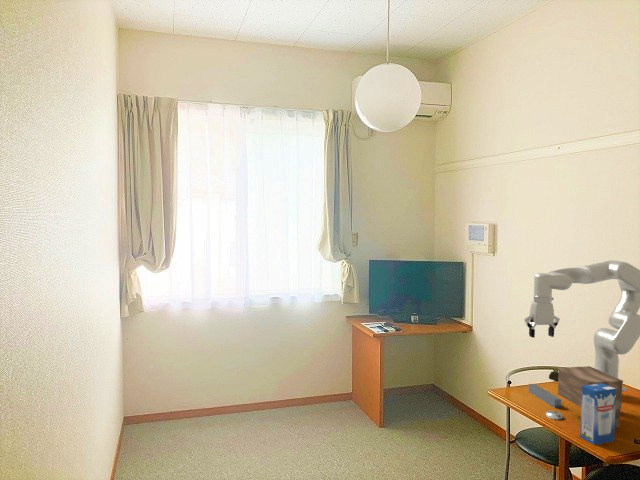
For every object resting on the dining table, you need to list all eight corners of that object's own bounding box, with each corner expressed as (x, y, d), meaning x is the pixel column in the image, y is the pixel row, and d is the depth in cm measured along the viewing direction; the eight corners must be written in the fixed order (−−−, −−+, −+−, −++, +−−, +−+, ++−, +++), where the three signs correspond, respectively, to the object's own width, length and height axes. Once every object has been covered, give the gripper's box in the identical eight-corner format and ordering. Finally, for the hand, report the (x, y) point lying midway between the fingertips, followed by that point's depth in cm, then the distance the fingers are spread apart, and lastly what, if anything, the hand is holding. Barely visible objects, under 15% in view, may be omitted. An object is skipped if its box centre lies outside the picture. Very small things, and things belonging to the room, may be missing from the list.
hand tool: (591, 385, 241) (591, 375, 241) (590, 387, 238) (591, 378, 238) (549, 378, 251) (549, 369, 251) (548, 380, 248) (549, 371, 248)
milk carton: (600, 433, 186) (601, 383, 185) (614, 441, 180) (616, 388, 179) (580, 437, 183) (581, 385, 182) (594, 444, 177) (595, 391, 176)
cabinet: (588, 409, 210) (589, 366, 209) (621, 427, 192) (622, 380, 191) (556, 411, 207) (558, 367, 207) (587, 429, 189) (589, 382, 188)
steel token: (554, 413, 205) (554, 410, 205) (565, 419, 200) (565, 415, 199) (542, 415, 204) (543, 411, 204) (553, 421, 198) (553, 417, 198)
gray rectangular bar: (534, 391, 231) (534, 383, 231) (560, 408, 212) (561, 399, 211) (528, 392, 231) (528, 383, 231) (554, 408, 211) (555, 399, 211)
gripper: (554, 298, 227) (553, 334, 228) (520, 299, 225) (519, 335, 225) (564, 301, 220) (563, 338, 221) (530, 301, 217) (529, 339, 218)
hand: (541, 336), depth 223 cm, fingers open, 9 cm apart
